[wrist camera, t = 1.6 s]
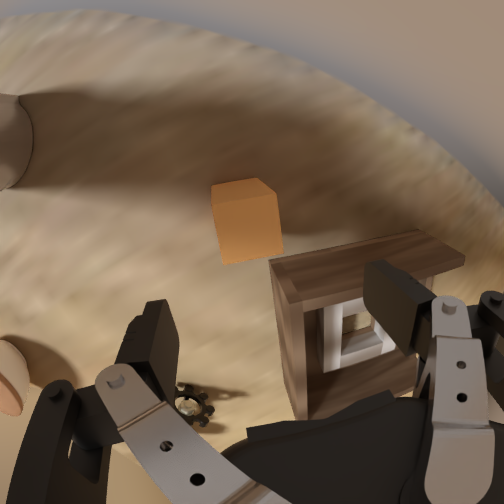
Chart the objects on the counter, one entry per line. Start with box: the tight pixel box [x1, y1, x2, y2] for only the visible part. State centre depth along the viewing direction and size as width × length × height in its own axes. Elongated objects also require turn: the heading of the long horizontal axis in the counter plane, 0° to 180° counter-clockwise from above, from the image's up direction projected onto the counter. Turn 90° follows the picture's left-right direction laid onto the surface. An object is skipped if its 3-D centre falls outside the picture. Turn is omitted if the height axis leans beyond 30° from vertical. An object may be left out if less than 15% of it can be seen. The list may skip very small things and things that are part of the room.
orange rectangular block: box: [211, 177, 284, 265], centre depth 22 cm, size 4×4×8 cm
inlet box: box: [269, 230, 465, 420], centre depth 28 cm, size 18×18×8 cm
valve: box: [173, 385, 215, 427], centre depth 32 cm, size 7×7×12 cm
